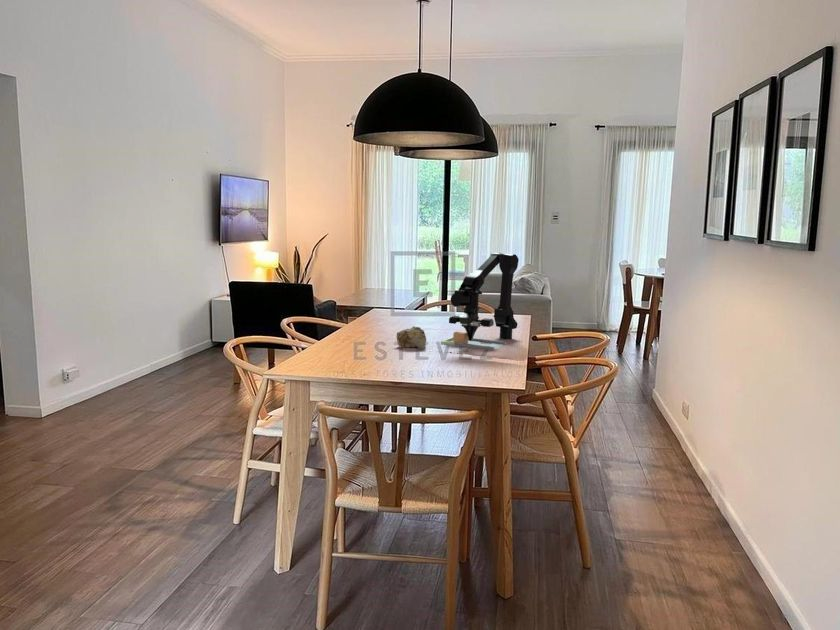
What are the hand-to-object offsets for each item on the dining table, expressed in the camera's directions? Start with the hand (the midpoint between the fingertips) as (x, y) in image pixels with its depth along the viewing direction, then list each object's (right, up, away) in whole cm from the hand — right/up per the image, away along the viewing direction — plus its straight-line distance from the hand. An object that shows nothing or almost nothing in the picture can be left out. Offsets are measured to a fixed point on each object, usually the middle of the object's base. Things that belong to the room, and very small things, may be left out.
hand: (470, 340), depth 271 cm
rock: (-25, -3, -2) cm, 26 cm away
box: (+1, -3, 0) cm, 3 cm away
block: (-4, -1, +2) cm, 5 cm away
